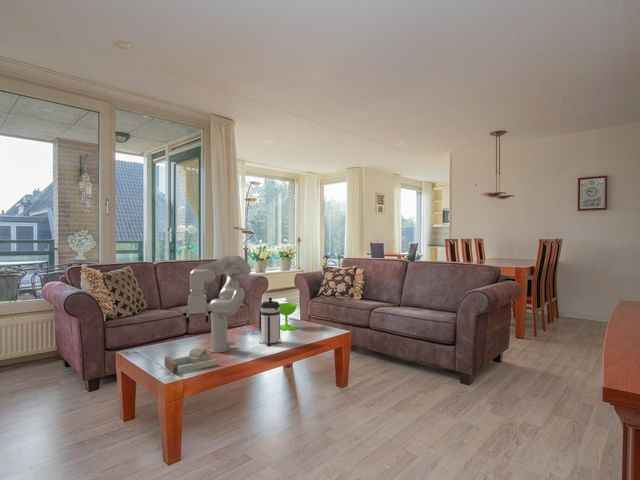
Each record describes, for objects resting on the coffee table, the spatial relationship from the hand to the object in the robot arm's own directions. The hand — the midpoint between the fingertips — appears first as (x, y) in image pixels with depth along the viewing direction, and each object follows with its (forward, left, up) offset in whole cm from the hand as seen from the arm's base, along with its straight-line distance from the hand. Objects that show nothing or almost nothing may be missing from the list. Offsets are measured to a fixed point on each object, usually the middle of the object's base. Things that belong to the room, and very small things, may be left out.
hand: (197, 323), depth 212 cm
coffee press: (-50, -8, -21) cm, 55 cm away
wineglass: (-81, -36, -21) cm, 91 cm away
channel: (+5, +5, -21) cm, 22 cm away
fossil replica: (+1, +5, -21) cm, 22 cm away
